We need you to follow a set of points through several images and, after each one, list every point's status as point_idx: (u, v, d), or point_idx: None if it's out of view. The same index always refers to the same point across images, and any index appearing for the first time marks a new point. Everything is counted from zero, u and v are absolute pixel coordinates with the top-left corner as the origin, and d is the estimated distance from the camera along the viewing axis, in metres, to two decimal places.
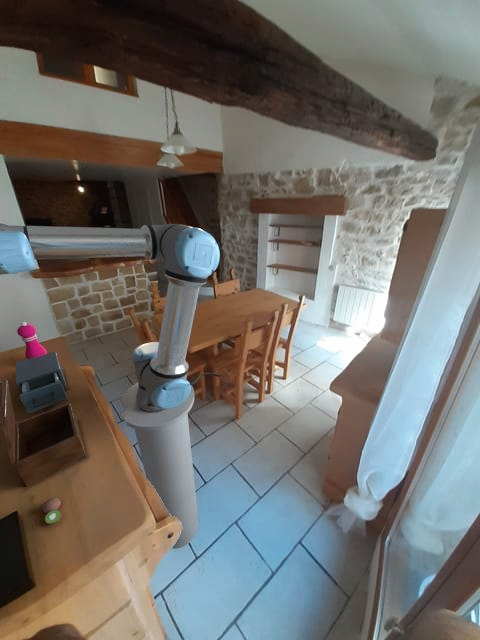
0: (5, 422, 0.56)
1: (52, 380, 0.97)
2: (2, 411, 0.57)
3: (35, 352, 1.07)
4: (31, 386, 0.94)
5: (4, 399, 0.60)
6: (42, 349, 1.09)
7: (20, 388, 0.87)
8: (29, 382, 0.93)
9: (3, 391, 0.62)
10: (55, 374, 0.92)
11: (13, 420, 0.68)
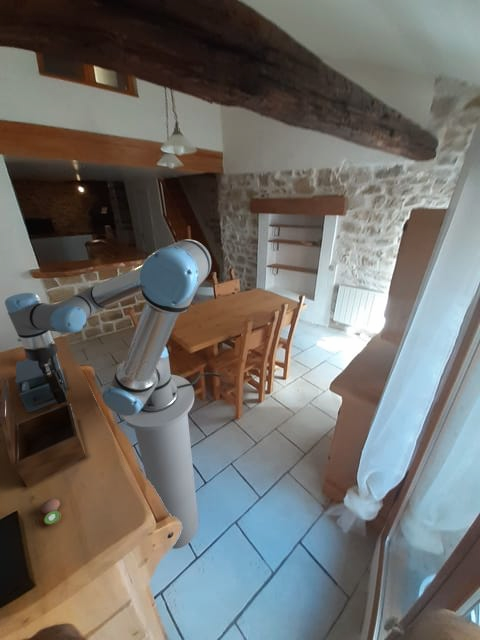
0: (5, 422, 0.56)
1: None
2: (2, 411, 0.57)
3: None
4: (31, 385, 0.94)
5: (4, 399, 0.60)
6: None
7: (20, 388, 0.87)
8: (29, 381, 0.93)
9: (3, 391, 0.62)
10: None
11: (13, 420, 0.68)
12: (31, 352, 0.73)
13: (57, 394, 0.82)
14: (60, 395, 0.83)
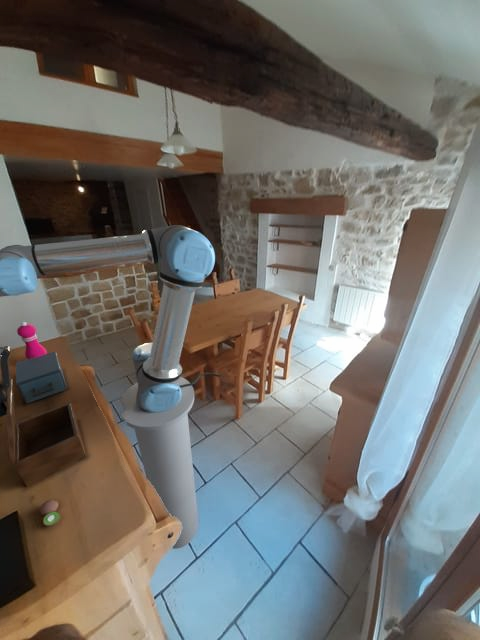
0: (10, 421, 0.57)
1: None
2: (8, 410, 0.57)
3: (35, 352, 1.07)
4: None
5: (9, 398, 0.61)
6: (42, 349, 1.09)
7: None
8: None
9: (8, 390, 0.63)
10: None
11: (14, 420, 0.68)
12: None
13: (4, 394, 0.61)
14: (5, 395, 0.61)
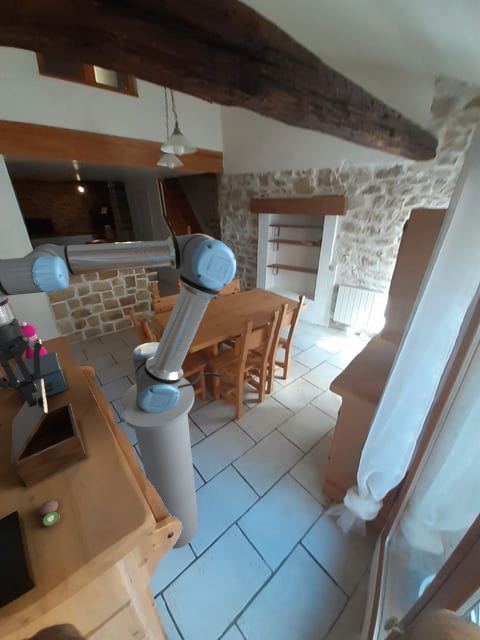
0: (43, 418, 0.61)
1: None
2: (45, 407, 0.62)
3: None
4: None
5: (44, 397, 0.66)
6: (42, 349, 1.09)
7: None
8: None
9: (42, 389, 0.68)
10: None
11: None
12: (12, 325, 0.55)
13: (35, 385, 0.64)
14: (36, 386, 0.65)
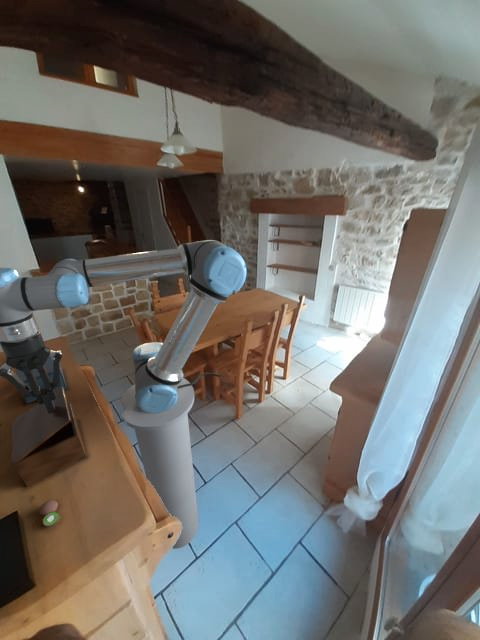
0: (64, 425, 0.65)
1: None
2: (69, 415, 0.67)
3: None
4: None
5: (67, 405, 0.70)
6: None
7: None
8: None
9: (64, 397, 0.72)
10: None
11: None
12: (36, 337, 0.59)
13: (54, 393, 0.68)
14: None
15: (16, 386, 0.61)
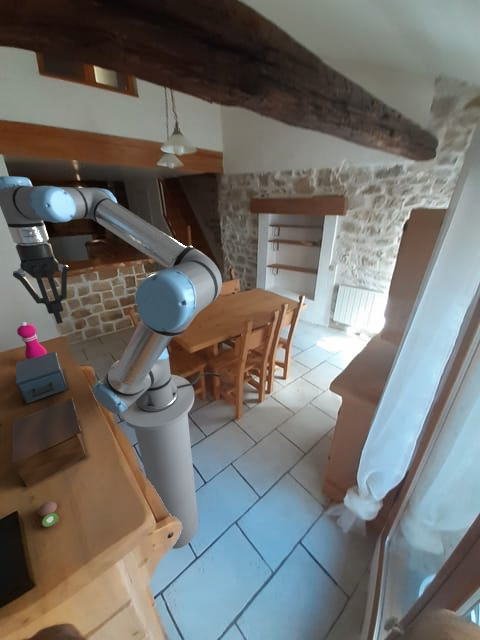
0: (74, 435, 0.68)
1: None
2: (79, 426, 0.70)
3: (35, 352, 1.07)
4: None
5: None
6: (42, 349, 1.09)
7: None
8: None
9: None
10: None
11: None
12: (47, 245, 0.67)
13: (61, 305, 0.76)
14: (62, 307, 0.77)
15: (29, 290, 0.69)
